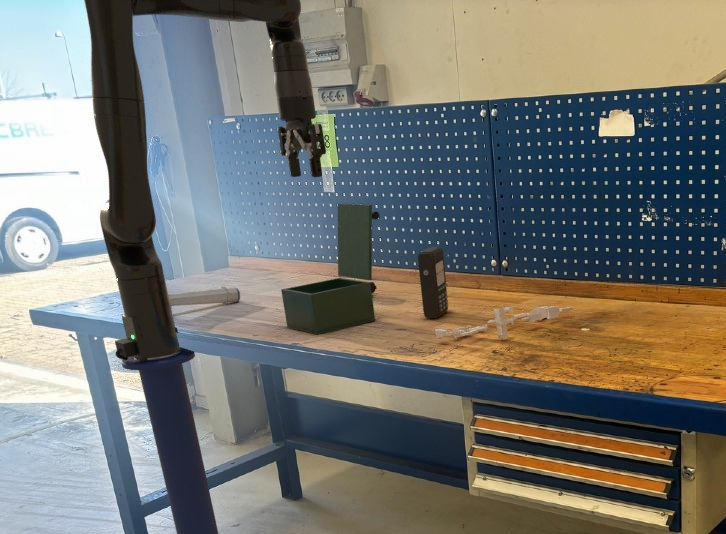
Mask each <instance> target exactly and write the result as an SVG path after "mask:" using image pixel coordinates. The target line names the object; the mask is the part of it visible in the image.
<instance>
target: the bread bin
mask: <svg viewBox="0 0 726 534" xmlns="http://www.w3.org/2000/svg"><path fill="white" fill-rule="evenodd" d="M370 282H371V281H365V280H364V281H363V280H359V279H352V278H346V277H337V278H332V279H326V280H322V281H317V282H311V283H306V284H301V285H296V286H291V287H285V288H281V289H280V290H281V297H282V303H283V309H284V315H285V322H286V327H287V329H292V330H296V331H300V332H304V333H309V334H313V335H321V334H326V333H330V332H334V331H338V330H341V329H347V328H351V327H355V326H358V325H362V324H366V323H370V322H374V321H376V316H375V314H376V313H375V308H374V307H375V306H374V300H373V299H374V298H373V293H372V290H371V283H370Z"/></svg>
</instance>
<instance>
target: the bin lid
mask: <svg viewBox="0 0 726 534" xmlns="http://www.w3.org/2000/svg"><path fill="white" fill-rule="evenodd" d="M379 218H380V213H379V211H376V210H375V211H374V210H373V205H372V204H356V203H337V276H338V277H342V278H349V279H356V280H364V281H365V280H366V281H372V280H373V275H372V274H373V266H372V265H373V264H372V263H373V243H372V242H373V220H379Z"/></svg>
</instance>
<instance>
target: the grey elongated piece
mask: <svg viewBox="0 0 726 534" xmlns="http://www.w3.org/2000/svg"><path fill="white" fill-rule="evenodd" d="M573 310H574V308H573V306H567V307H561V308H559V307H558V306H556V305H552V306H549V305H545V306H541V307H535V308H532V309H531V310H530V312H523V313H522V312H521V313H518V314H513V312H514V309H513V307H512V306H506V307H505V306H504V307H499V308H494V309H493V314H494V319H489V320H488V321H487V323H488V324H495V327H496V333H497V340H498V341H501V340H507V339H509V333H508V332H509V331H508V327H507V325H509V324H511V326H514V325H515V320H517V319H521V322H525V321H528V322H529V323H535V322H536V321H542V320H543V319H546V320H548V321H550V320H554V319H557V318H558V317H559V316H560V314H561V312H568V311H573ZM506 314H513V315H510V318H508V319H506ZM488 324H483V325H478V326H476V327H472V325H466V326H461V327H456V328H455V327H453V328H452V331H450V332H448V329H442V327H440V328H436V329H434V334H435V339H436V340H439V339H443V338H444V337H450V336H453V338H454V340H456V339H457V338H460V337H464V336H468V335H472V334H476V333H478V332H484V331H488V330H489V325H488Z"/></svg>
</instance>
